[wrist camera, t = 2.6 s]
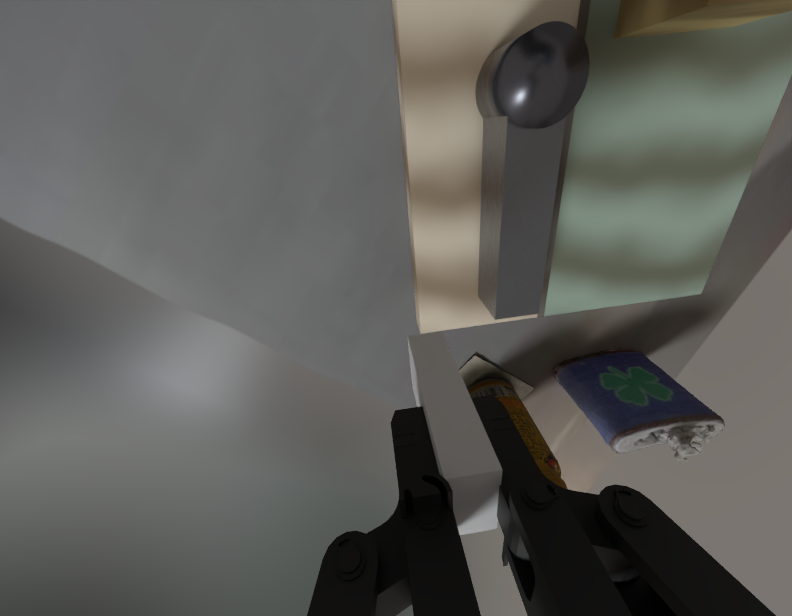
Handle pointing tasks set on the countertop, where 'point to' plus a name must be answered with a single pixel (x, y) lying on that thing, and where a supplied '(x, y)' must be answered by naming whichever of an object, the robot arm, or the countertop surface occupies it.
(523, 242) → the latch bar
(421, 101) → the two-tone base plate
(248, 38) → the countertop surface
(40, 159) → the countertop surface
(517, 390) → the condiment
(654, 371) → the flask
